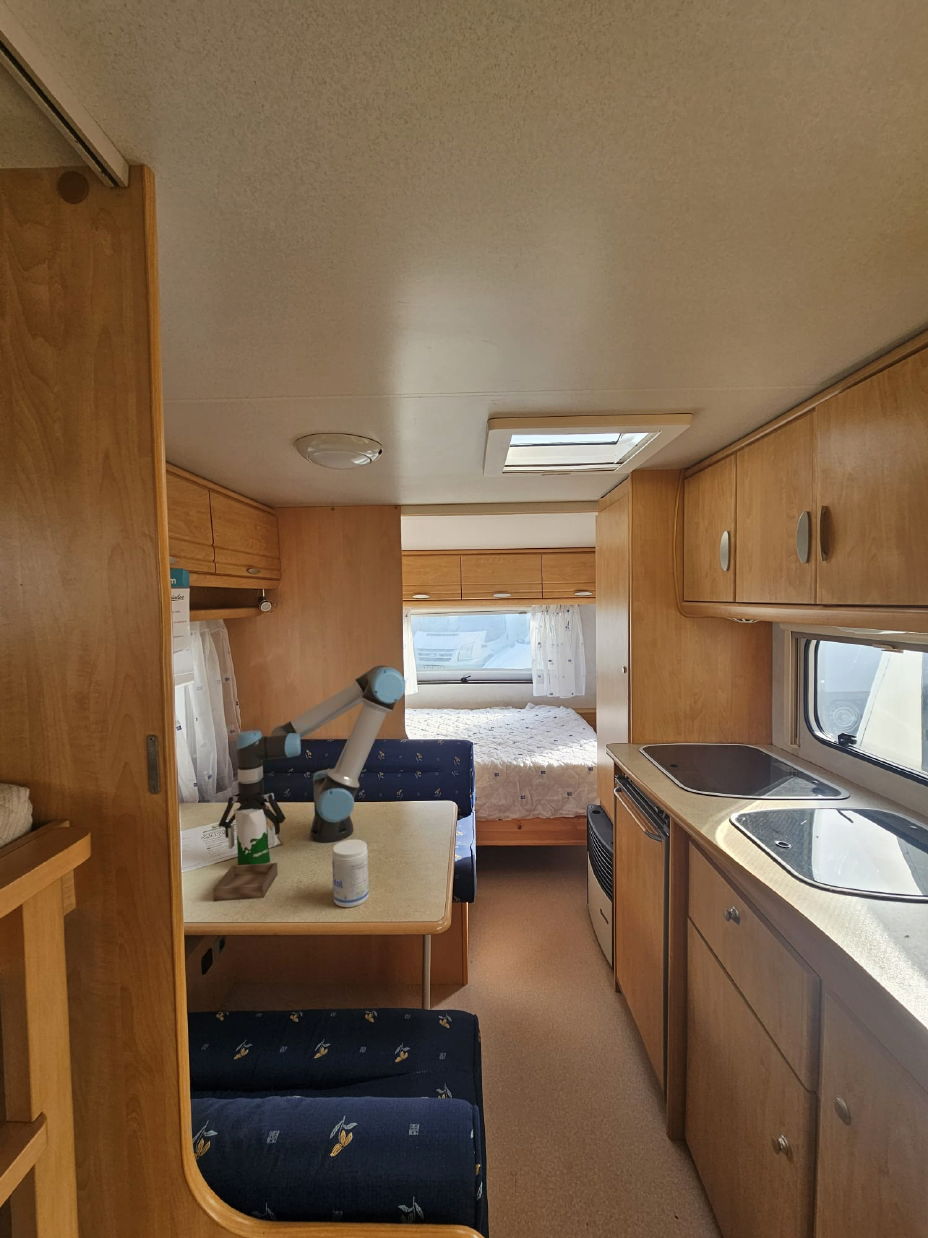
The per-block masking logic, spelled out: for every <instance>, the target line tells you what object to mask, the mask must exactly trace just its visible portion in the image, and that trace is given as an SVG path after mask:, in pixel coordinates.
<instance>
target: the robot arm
mask: <svg viewBox="0 0 928 1238" xmlns="http://www.w3.org/2000/svg"><path fill="white" fill-rule="evenodd" d="M405 691H406V681H405V678H404V676H403V675H402V674H401V672H400V671H399V670H397V669H395V668H393V667H390V666H387V665H383V664H382V665H381V664H380V665H377V666H374V667H372V668H370V669H368V670H367V671H366V672H365V673H363V674H361V675H360V676H359V677H357V678H355V679H354V680H353V682H352V684H350V685H349V686H347V687H345V688H344V689H342V690H340V691H339V692H336V693H335V694H333V695H332V696H330V697H328V698H327V699H325V700H324V701H322V702H319V703H318V704H316V705H315V706H313V707H312V708H309V709H308V710H307V711H305V712H303V713H301V714H299V715H298V716H296V717H294V718H293V719H291V720H290V721H289V722H288V721H287V722H286V723H285V724H283V725H282V724H281V725H278V726H276V727H275V728H273V730H272V731H271V733H270V735H266V736H264V735H263V734H262V731H260V730H256V729H255V730H246V731H241V732H239V733H238V734H237V735H236V765H237V781H238V784H237V785H238V786H237V789H238V793H237V794H238V796H236V795H234V794H231V795H230V796H229V797H228V798H227V805H226V807H225V810H224V811H223V814H222V817H221V818H220V821H219V823H218V827H223V828H224V830H225V831H224V835H225V838H226V839H228V850H232V849H233V848H234V847H235V825H233V823H234V822H235V821H236V819H235V813H234V812H233V814H232V816H231V817H230V818H229V819H228V817H229V815H230V813H231V811H232V809H233V807H234V804H236V802H238V803H239V807H238V808H236V809H237V810H238V811H241V810H242V809H243V808H244V809H257V808H258V809H259V810H263V812H264V814H265V815H266V816H267V820H269V821H270V822H271V823H272V824H271V841H272V844H271V845H272V847H275V846H277V844H278V835H279V834H280V831H281V825H280V824H283V823H284V822H285V820H286V815H285V814H284V812H283V811H282V809H281V807H280V805H279V803H278V802H277V800H276V798H275V793H274V792H270V793H267V794H265V792H264V789H265V788H264V787H265V786H264V779H263V778H264V772H263V771H264V768H263V767H264V765H263V763H264V762H263V761H266V760H267V761H268V760H276V759H277V760H278V759H285V758H292V757H298V756H300V755H301V749H302V747H301V740H302V739H304V738H305V737H307V736H309V735H310V734H312V733H313V732H315V731H317V730H318V729H321V728H322V727H323V726H325V725H327V724H329V723H330V722H331V721H334V720H335V719H337V718H338V717H341V716H342V715H343V714H345V713H347V712H348V711H350V710H352V709H353V708H355V707H357V706H359V705H360V704H361V703H363V704H362V707H361V710H360V712H359V714H358V716H357V718H356V720H355V723H354V725H353V727H352V729H351V732H350V734H349V736H348V738H347V741H346V743H345V745H344V748H343V750H342V752H341V754H340V756H339V758H338V760H337V763H336V765H335V767H334V768H329V769H328V768H327V769H323V770H319V771H316V772H314V773H313V778H312V782H313V783H312V784H313V807H314V816H313V819H312V824H311V827H310V830H309V835H310V839H311V840H312V841H313V842H318V843H332V842H333V843H334V842H338V841H343V840H345V839H346V838H347V839H348V838H349V837H350V836H351V835H352V834H353V833H354V823H353V821H352V818H351V814H352V812H353V810H354V805H355V797H356V795H357V792H358V790H359V788H360V783H359V777H360V774H361V772H362V770H363V768H364V765H365V763H366V761H367V759H368V756H369V753H370V752H371V749H372V747H373V745H374V744H375V741H376V738H377V735H379V731H380V729H381V727H382V725H383V722H384V720H385V718H386V716H387V714H389V713H391V712H392V711H393V710H394V709H395V706H396V704H397V702H398V701H399V700H400V699H401V698H402V697H403V695H404V693H405ZM265 800H266V801H267V802H268V804H269V807H270V808H269V810H268V809H266V807H267V806H268V805H267V803H265V802H264V801H265ZM271 809H272V810H271ZM227 820H228V821H227Z"/></svg>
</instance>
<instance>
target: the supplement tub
mask: <svg viewBox="0 0 928 1238" xmlns="http://www.w3.org/2000/svg"><path fill="white" fill-rule="evenodd" d="M368 853H369V852H368V844H367V843H366V841H363V840H361V839H348V840H347V839H346V840H341V841H340V842H338V843H336V844H335V845H334V846H333V848H332V854H331V856H332V857H331V859H332V889H333V893H332V894H333V895H332V896H333V902H334V903H335V904H336V905H337V906H339V907H342V908H354V907H357V906H359V905H363V904H364V903H365V902H366V901H367V900H368V898H369V891H370V889H369V886H370V885H369V856H368Z"/></svg>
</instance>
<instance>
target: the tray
mask: <svg viewBox="0 0 928 1238" xmlns="http://www.w3.org/2000/svg"><path fill="white" fill-rule="evenodd" d="M277 875H278V863H277V862H268V863H266V864H251V865H238V864H237V865H231V866H230V867H229V869H228V870H227V871H226V872H225V874H224V875H222V878H221V879H220V880H219V881H218V883H216V885H215V886H214V888H213V889H212V890H213V891H212V895H213V902H223V901H235V900H237V901H240V900H250V899H252V900H253V899H264V898H265V896H266V894H267V893H268V892H269V891H268V890H270V888H271V886H272V884H273V882H274V881H275V879H277V878H276V877H277Z"/></svg>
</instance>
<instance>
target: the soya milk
mask: <svg viewBox="0 0 928 1238" xmlns="http://www.w3.org/2000/svg"><path fill="white" fill-rule="evenodd" d="M266 806H267V807H266V809H268V810H269V809H270V805H266ZM237 809H238V808H236V809H234V810H233V814H234V813H235V825H236V845H237V849H236V850H237V865H251V864H266V863H271V856H270V848H269V847H270V846H269V832H268V830H269V829H268V817H267V816H266V815H265V814H264V812H263V810H259V809H258V808H257V809H244V808H243V809H242V810H241V811H238V810H237Z"/></svg>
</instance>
